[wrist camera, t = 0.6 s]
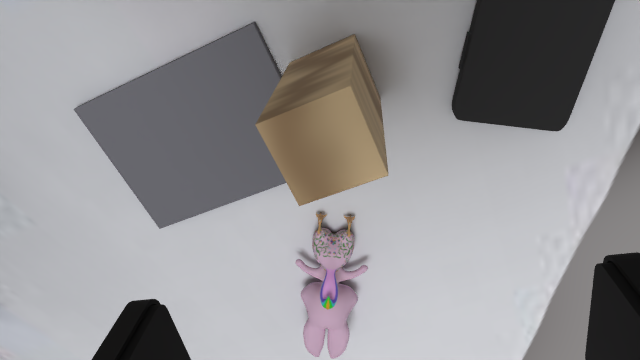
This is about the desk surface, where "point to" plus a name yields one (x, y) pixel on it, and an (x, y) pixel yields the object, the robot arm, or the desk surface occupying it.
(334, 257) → the pink creature figurine
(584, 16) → the smart home device
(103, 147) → the charcoal mat
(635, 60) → the desk surface
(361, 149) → the oak block
